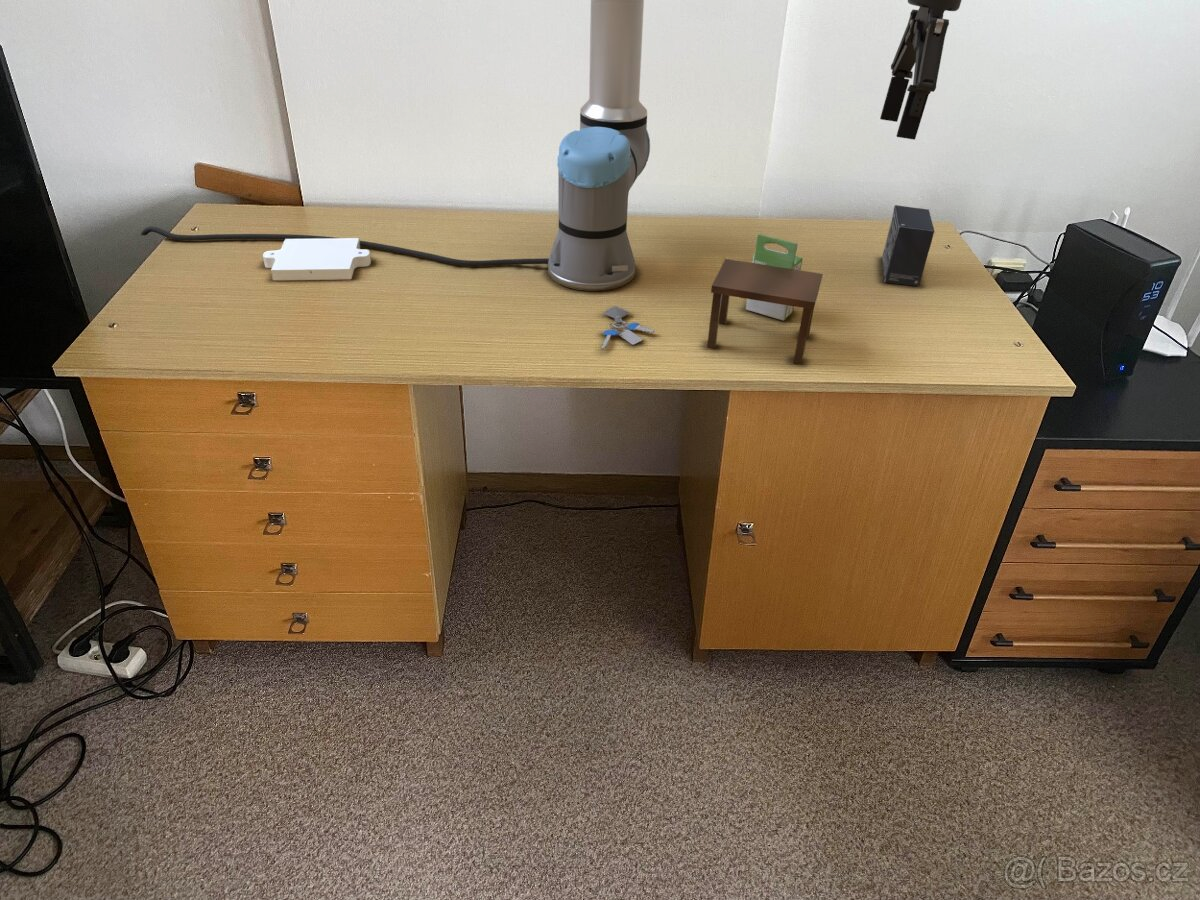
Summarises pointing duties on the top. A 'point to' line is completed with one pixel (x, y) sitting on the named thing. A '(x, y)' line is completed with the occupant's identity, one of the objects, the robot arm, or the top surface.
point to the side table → (764, 294)
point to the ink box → (777, 260)
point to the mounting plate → (316, 259)
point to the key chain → (626, 334)
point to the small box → (907, 245)
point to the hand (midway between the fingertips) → (896, 129)
